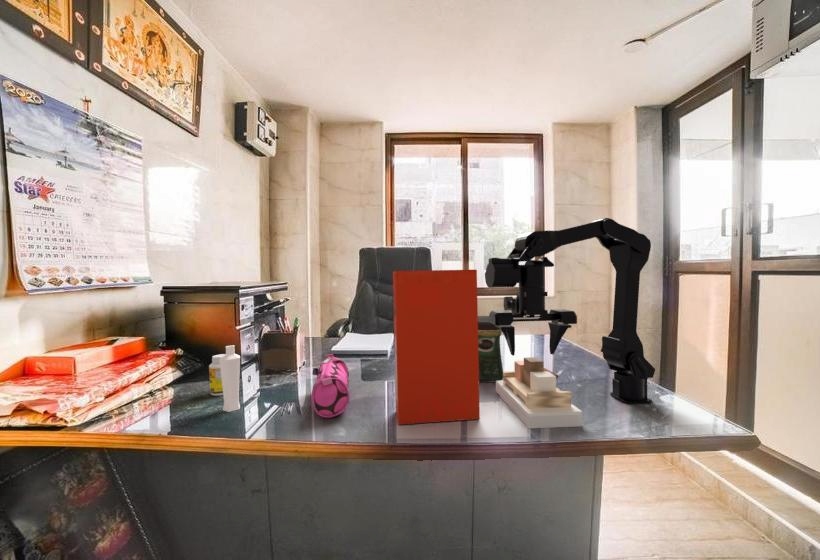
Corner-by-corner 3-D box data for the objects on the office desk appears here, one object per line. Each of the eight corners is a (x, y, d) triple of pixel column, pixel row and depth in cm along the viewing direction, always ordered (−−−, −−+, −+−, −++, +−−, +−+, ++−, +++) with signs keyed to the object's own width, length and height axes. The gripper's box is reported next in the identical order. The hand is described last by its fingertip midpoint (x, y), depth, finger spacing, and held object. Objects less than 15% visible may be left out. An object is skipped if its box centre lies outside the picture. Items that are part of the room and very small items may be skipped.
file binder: (395, 410, 81) (392, 271, 80) (468, 406, 83) (466, 270, 83) (398, 425, 73) (395, 271, 72) (479, 420, 75) (477, 269, 74)
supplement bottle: (211, 391, 98) (210, 354, 97) (233, 388, 100) (232, 352, 100) (208, 397, 92) (207, 358, 92) (232, 394, 95) (231, 356, 94)
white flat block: (537, 390, 93) (537, 379, 93) (582, 426, 71) (582, 411, 71) (496, 391, 92) (495, 380, 92) (528, 428, 70) (528, 413, 70)
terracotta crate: (530, 376, 89) (530, 360, 89) (536, 381, 85) (536, 364, 85) (514, 376, 89) (514, 361, 88) (520, 381, 85) (520, 365, 84)
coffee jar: (502, 375, 107) (501, 314, 106) (503, 383, 99) (502, 317, 99) (470, 374, 109) (469, 314, 108) (468, 382, 101) (467, 317, 101)
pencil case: (313, 390, 97) (312, 354, 97) (348, 387, 99) (348, 352, 99) (308, 422, 76) (307, 376, 76) (354, 417, 78) (353, 372, 78)
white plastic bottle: (238, 403, 88) (237, 343, 87) (245, 408, 85) (243, 345, 84) (218, 408, 84) (216, 346, 84) (224, 413, 81) (222, 348, 81)
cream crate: (547, 389, 79) (547, 371, 79) (556, 395, 75) (556, 376, 75) (530, 389, 79) (530, 371, 78) (537, 396, 75) (537, 377, 74)
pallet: (537, 382, 90) (537, 350, 90) (571, 406, 73) (571, 368, 73) (503, 383, 90) (502, 352, 90) (529, 408, 73) (528, 370, 73)
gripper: (555, 285, 90) (555, 346, 90) (482, 286, 89) (483, 348, 89) (578, 286, 79) (578, 356, 79) (495, 288, 78) (496, 358, 78)
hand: (532, 354), depth 81 cm, fingers open, 9 cm apart
